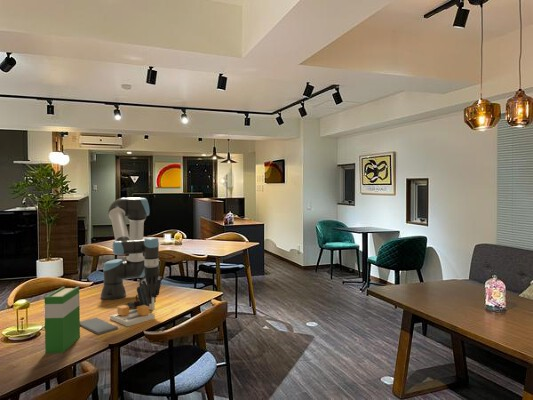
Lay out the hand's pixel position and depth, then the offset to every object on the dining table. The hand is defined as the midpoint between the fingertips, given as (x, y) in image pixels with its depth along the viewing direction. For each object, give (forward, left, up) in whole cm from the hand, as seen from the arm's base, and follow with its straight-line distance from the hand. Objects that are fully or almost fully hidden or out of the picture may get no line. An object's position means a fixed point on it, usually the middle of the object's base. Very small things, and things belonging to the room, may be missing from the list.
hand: (151, 309), depth 216 cm
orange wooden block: (-8, -12, -1) cm, 15 cm away
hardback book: (+4, -48, -4) cm, 49 cm away
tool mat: (-7, -27, -4) cm, 29 cm away
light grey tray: (-4, -9, -4) cm, 11 cm away
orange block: (0, -5, -1) cm, 5 cm away
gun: (-17, +4, -4) cm, 18 cm away
